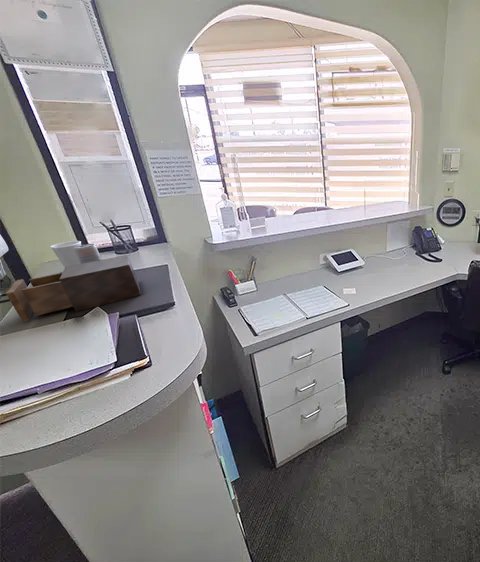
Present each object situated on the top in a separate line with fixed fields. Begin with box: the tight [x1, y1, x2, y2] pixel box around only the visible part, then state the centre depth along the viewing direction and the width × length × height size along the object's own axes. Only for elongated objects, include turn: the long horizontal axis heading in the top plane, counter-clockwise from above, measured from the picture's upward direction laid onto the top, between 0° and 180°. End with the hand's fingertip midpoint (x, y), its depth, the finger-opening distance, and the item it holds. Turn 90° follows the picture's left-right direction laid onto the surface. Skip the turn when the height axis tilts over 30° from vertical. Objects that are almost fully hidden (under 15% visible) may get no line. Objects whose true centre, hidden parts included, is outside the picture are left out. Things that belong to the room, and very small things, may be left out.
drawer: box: [0, 271, 74, 322], centre depth 82 cm, size 18×11×8 cm, turn 128°
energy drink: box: [74, 243, 103, 264], centre depth 102 cm, size 5×5×12 cm
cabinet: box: [60, 254, 142, 313], centre depth 89 cm, size 15×13×10 cm
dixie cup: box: [49, 240, 82, 268], centre depth 114 cm, size 8×8×10 cm
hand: (0, 277), depth 77 cm, fingers closed
